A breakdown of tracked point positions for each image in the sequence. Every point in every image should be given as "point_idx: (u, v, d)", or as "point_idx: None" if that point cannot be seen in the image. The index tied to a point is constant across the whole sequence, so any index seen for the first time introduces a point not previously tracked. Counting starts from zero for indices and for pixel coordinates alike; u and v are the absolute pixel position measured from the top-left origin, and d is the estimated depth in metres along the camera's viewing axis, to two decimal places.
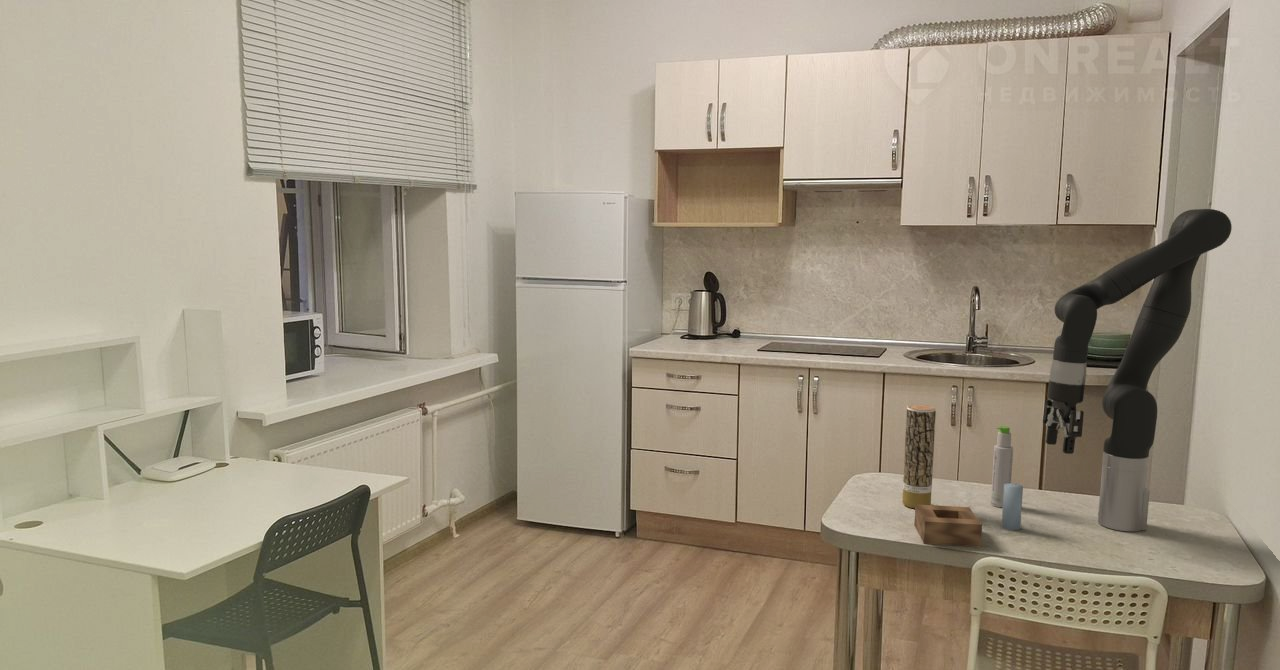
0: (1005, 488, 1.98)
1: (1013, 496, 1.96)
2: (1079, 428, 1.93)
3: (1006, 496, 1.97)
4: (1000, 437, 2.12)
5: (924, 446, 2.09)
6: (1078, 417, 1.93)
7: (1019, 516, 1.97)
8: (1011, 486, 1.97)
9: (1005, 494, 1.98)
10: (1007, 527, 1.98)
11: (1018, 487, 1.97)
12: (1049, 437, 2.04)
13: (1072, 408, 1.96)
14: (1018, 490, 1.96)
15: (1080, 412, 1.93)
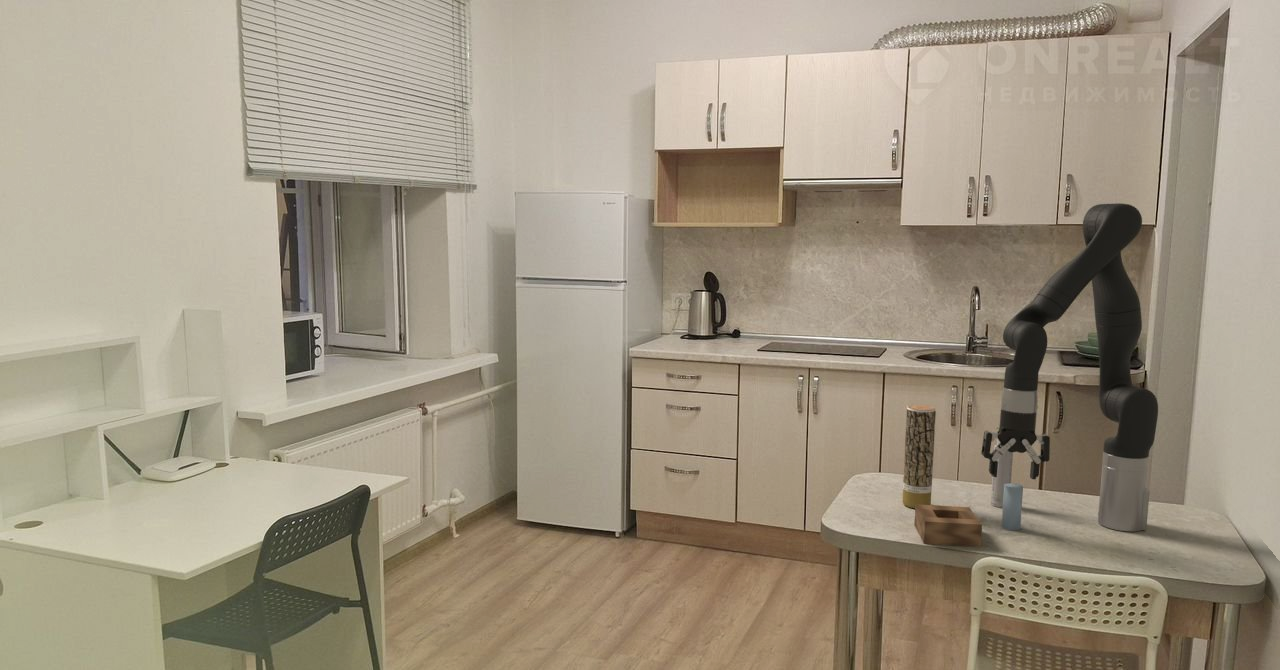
0: (1005, 488, 1.98)
1: (1013, 496, 1.96)
2: None
3: (1007, 496, 1.97)
4: None
5: (924, 446, 2.09)
6: None
7: (1019, 516, 1.97)
8: (1011, 486, 1.97)
9: (1005, 494, 1.98)
10: (1007, 527, 1.98)
11: (1018, 487, 1.97)
12: None
13: None
14: (1019, 490, 1.96)
15: None
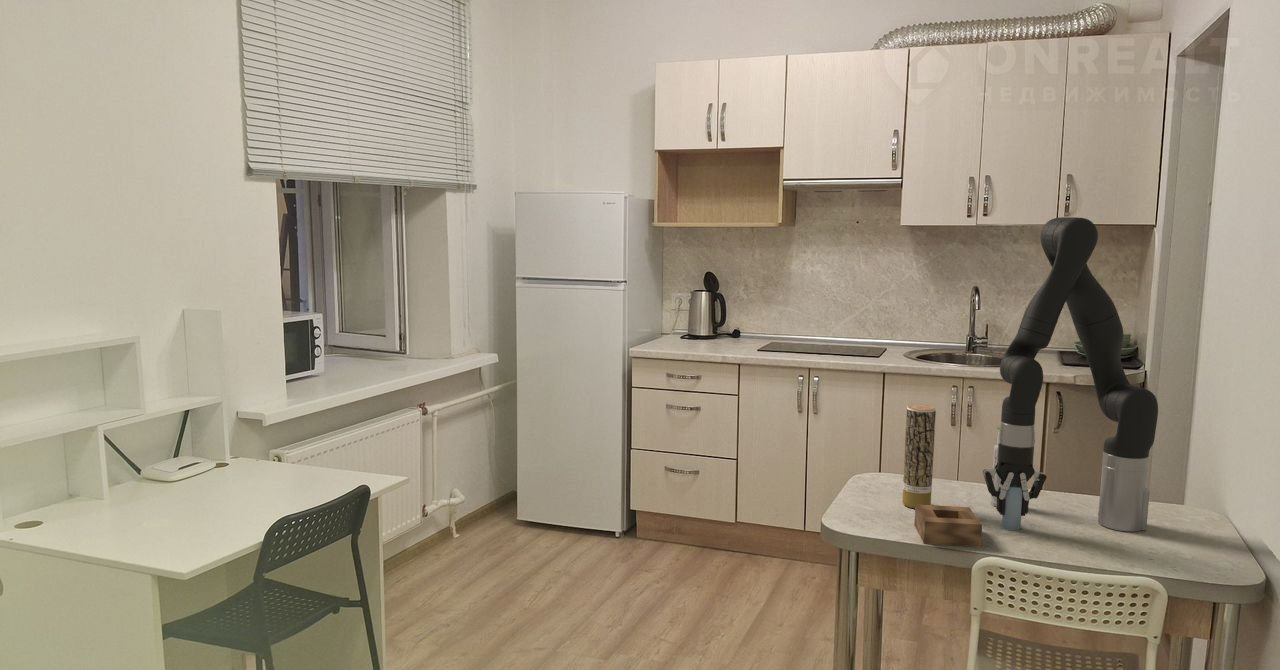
0: None
1: (1013, 496, 1.96)
2: None
3: (1007, 496, 1.97)
4: None
5: (924, 446, 2.09)
6: None
7: (1019, 516, 1.97)
8: (1011, 486, 1.97)
9: None
10: (1007, 527, 1.98)
11: (1018, 487, 1.97)
12: None
13: None
14: (1019, 490, 1.96)
15: None
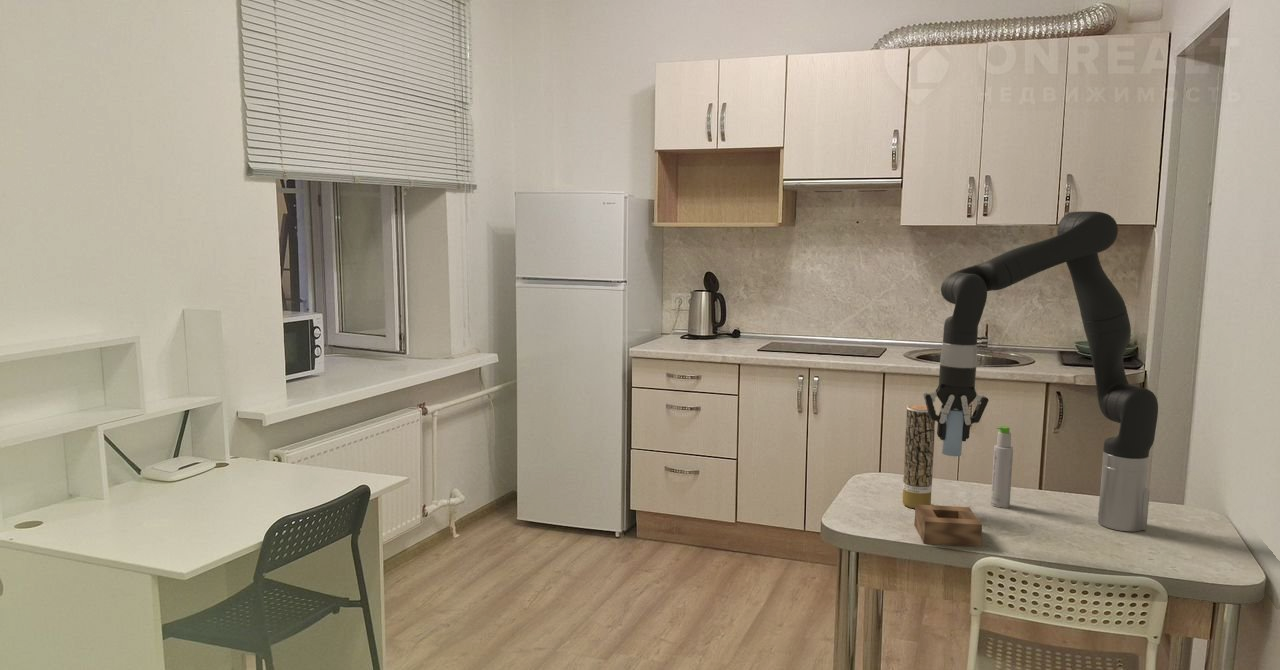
0: None
1: (953, 420, 1.89)
2: None
3: (947, 420, 1.90)
4: (1000, 437, 2.12)
5: (924, 446, 2.09)
6: None
7: (960, 441, 1.89)
8: (952, 410, 1.90)
9: (946, 418, 1.90)
10: (947, 452, 1.90)
11: (959, 410, 1.89)
12: None
13: None
14: (959, 413, 1.88)
15: None
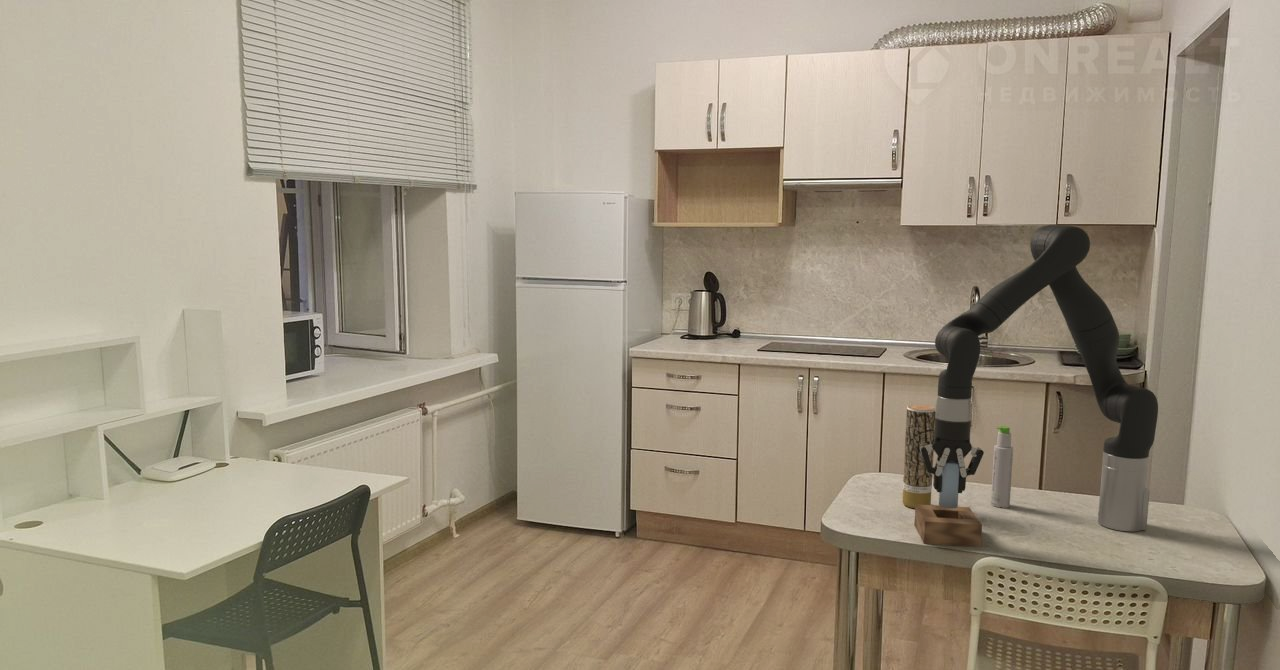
0: None
1: (949, 472, 1.90)
2: None
3: (943, 473, 1.91)
4: (1000, 437, 2.12)
5: None
6: None
7: (956, 493, 1.90)
8: (948, 462, 1.91)
9: (942, 470, 1.91)
10: (944, 505, 1.91)
11: (954, 463, 1.90)
12: None
13: None
14: (955, 466, 1.89)
15: None
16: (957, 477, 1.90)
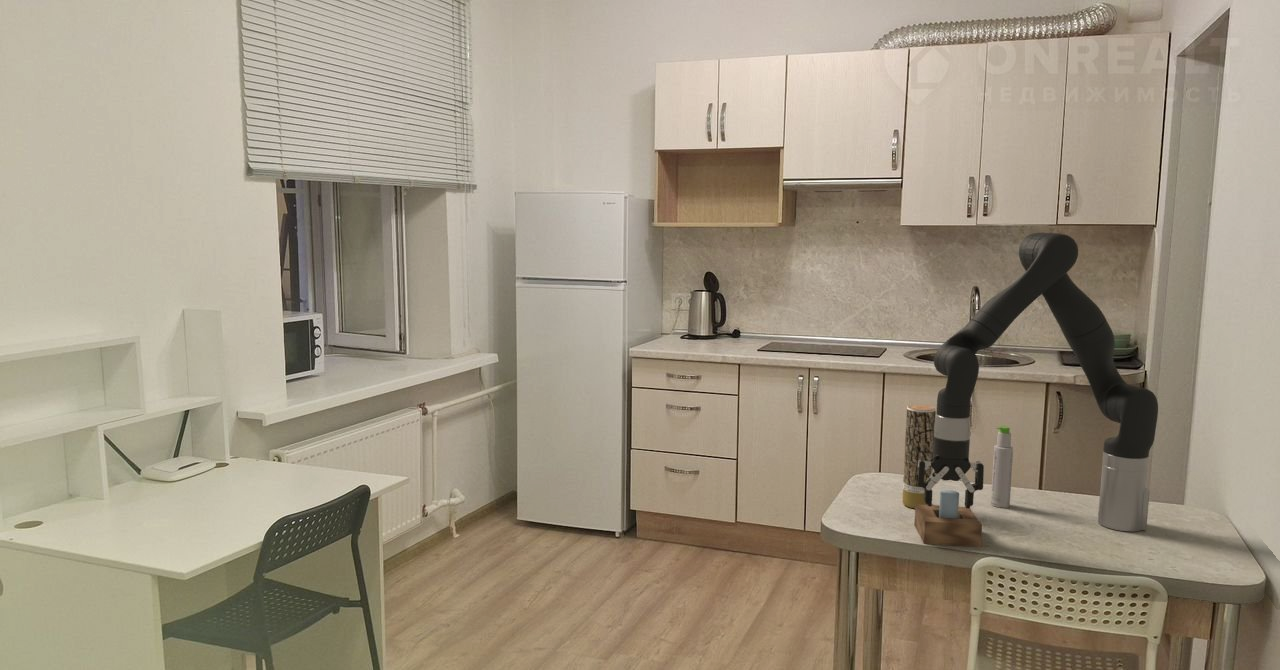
0: (941, 495, 1.92)
1: (948, 503, 1.91)
2: None
3: (942, 503, 1.92)
4: (1000, 437, 2.12)
5: (924, 446, 2.09)
6: None
7: None
8: (947, 493, 1.92)
9: (941, 501, 1.92)
10: None
11: (954, 494, 1.91)
12: None
13: None
14: (954, 497, 1.90)
15: (980, 463, 1.91)
16: (956, 508, 1.91)
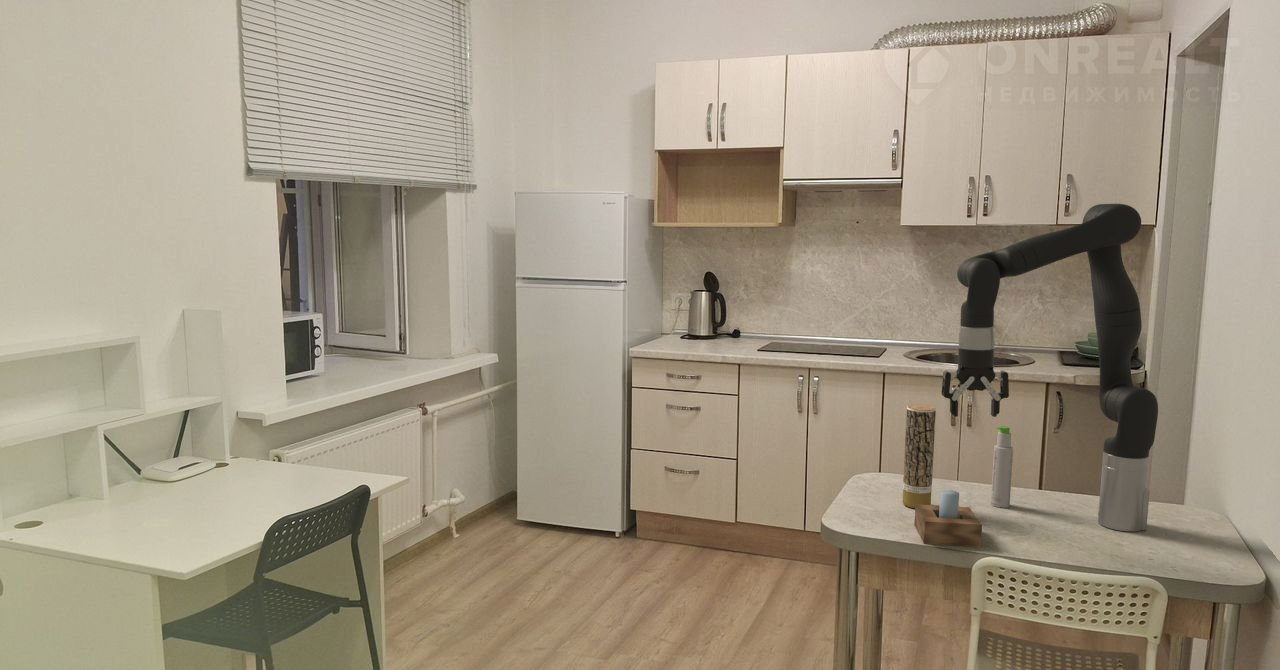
0: (941, 495, 1.92)
1: (948, 503, 1.91)
2: None
3: (942, 503, 1.92)
4: (1000, 437, 2.12)
5: (924, 446, 2.09)
6: None
7: None
8: (947, 493, 1.92)
9: (941, 501, 1.92)
10: None
11: (954, 494, 1.91)
12: None
13: None
14: (954, 497, 1.90)
15: (1004, 372, 1.95)
16: (956, 508, 1.91)
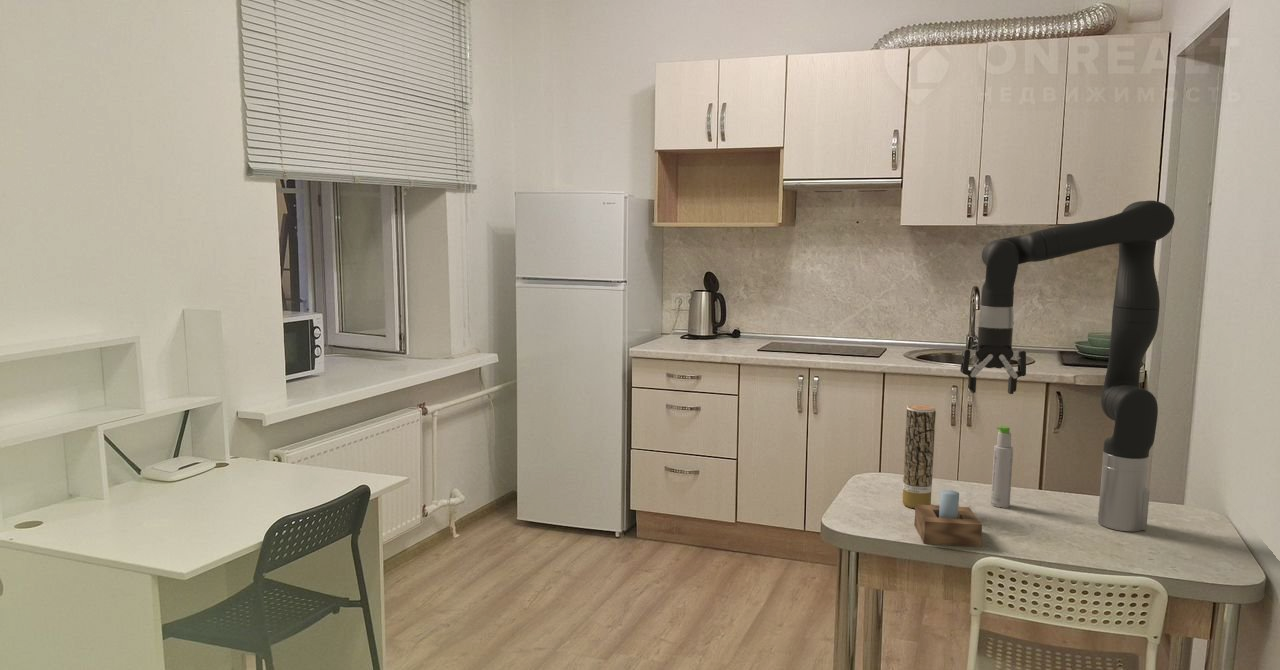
0: (941, 495, 1.92)
1: (948, 503, 1.91)
2: None
3: (942, 503, 1.92)
4: (1000, 437, 2.12)
5: (924, 446, 2.09)
6: None
7: None
8: (947, 493, 1.92)
9: (941, 501, 1.92)
10: None
11: (954, 494, 1.91)
12: None
13: None
14: (954, 497, 1.90)
15: (1022, 351, 2.02)
16: (956, 508, 1.91)
